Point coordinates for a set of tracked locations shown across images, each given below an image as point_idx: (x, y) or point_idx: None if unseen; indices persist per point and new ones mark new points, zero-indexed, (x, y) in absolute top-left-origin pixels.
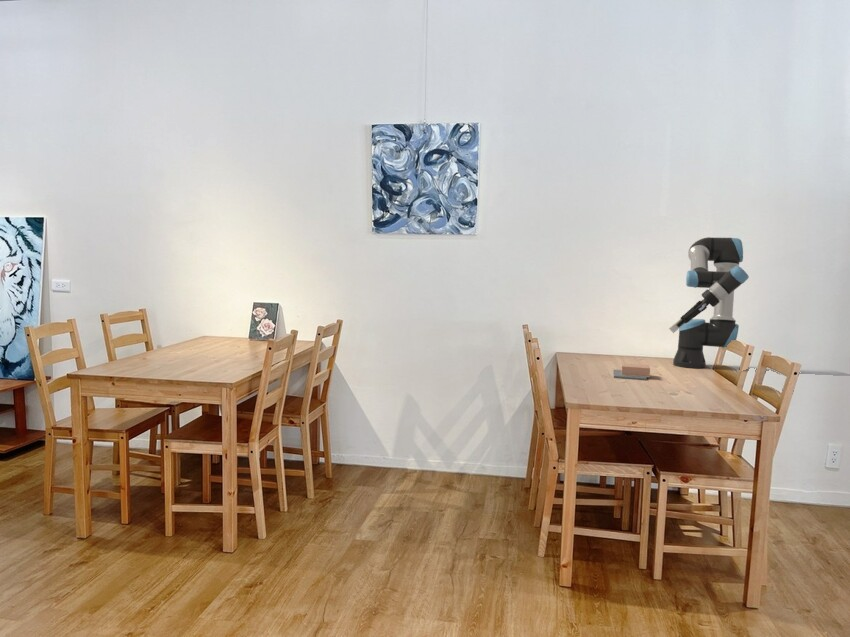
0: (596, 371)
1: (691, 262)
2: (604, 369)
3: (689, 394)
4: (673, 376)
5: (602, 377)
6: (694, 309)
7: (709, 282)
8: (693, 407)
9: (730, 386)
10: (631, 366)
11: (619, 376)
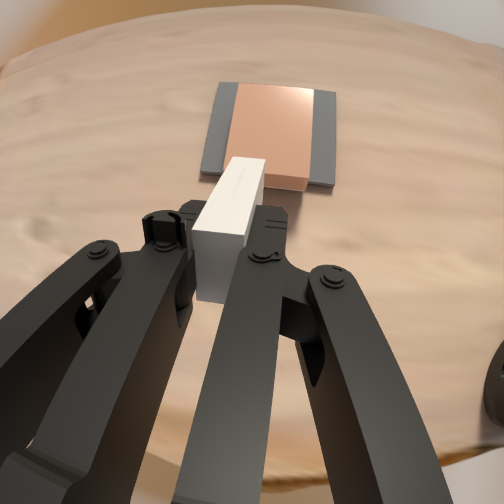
0: (316, 57)
1: None
2: (361, 81)
3: (39, 274)
4: None
5: (224, 63)
6: (35, 457)
7: None
8: None
9: (182, 454)
10: (245, 109)
11: (216, 95)
